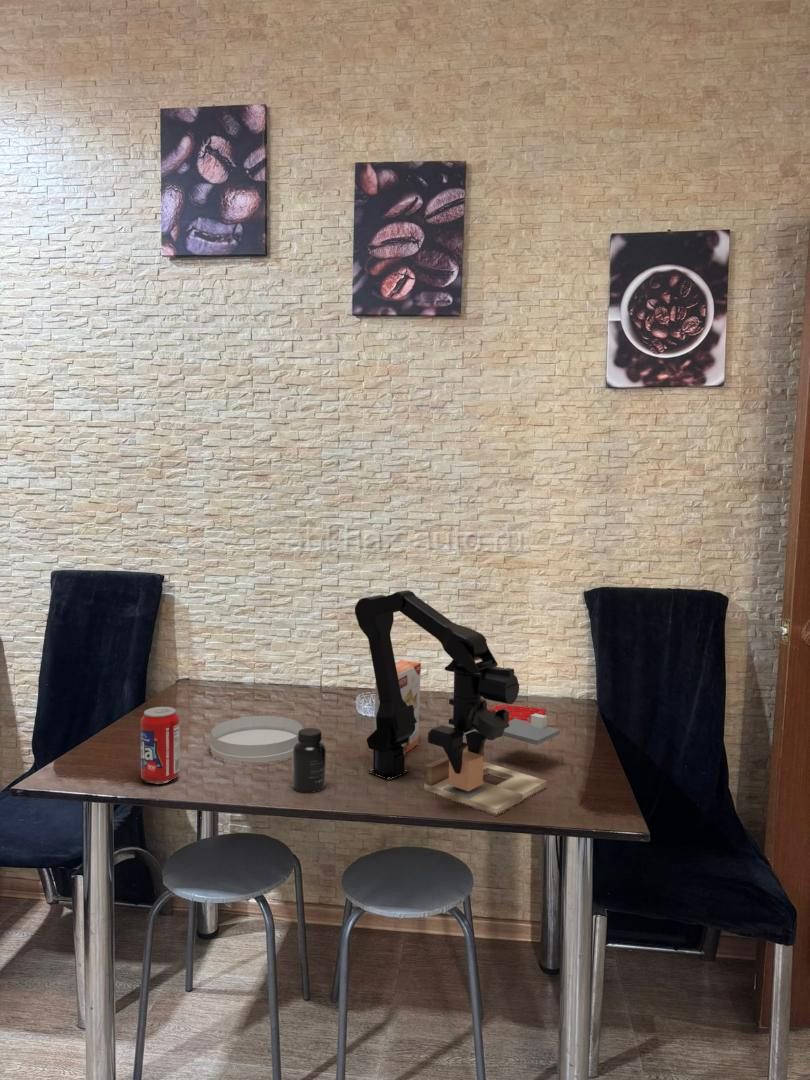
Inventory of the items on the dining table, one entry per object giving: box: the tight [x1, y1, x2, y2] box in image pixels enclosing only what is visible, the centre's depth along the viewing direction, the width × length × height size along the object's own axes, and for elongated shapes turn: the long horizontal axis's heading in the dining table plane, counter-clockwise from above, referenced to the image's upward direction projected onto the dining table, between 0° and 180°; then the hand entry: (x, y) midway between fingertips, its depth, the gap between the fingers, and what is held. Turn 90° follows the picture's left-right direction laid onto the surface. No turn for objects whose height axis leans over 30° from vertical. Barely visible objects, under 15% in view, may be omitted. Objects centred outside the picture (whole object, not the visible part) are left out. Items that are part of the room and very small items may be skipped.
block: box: [449, 750, 484, 791], centre depth 155 cm, size 5×5×6 cm
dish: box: [209, 715, 304, 762], centre depth 181 cm, size 22×22×5 cm
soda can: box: [140, 706, 181, 781], centre depth 161 cm, size 8×8×15 cm
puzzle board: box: [423, 745, 548, 814], centre depth 159 cm, size 18×19×6 cm
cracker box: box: [373, 660, 422, 755], centre depth 179 cm, size 14×6×21 cm, turn 155°
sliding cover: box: [502, 713, 561, 746], centre depth 174 cm, size 13×10×5 cm
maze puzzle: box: [490, 703, 547, 723], centre depth 210 cm, size 20×20×1 cm
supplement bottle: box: [292, 727, 327, 793], centre depth 158 cm, size 7×7×12 cm
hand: (465, 769), depth 155 cm, fingers open, 5 cm apart
